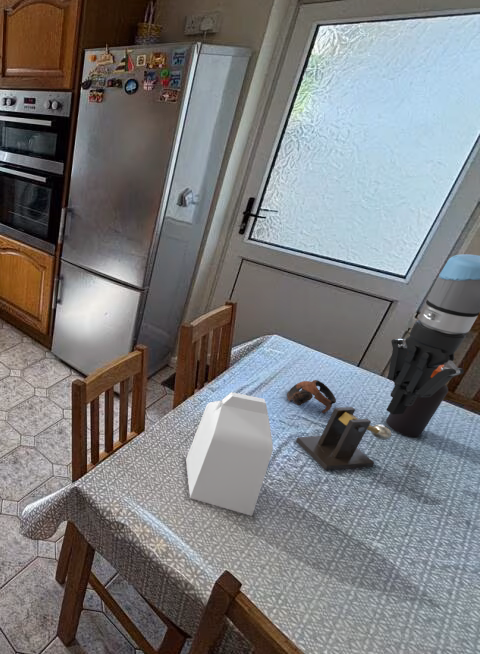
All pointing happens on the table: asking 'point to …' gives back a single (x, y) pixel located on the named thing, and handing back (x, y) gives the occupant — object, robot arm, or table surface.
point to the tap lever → (376, 430)
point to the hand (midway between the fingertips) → (394, 411)
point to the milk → (230, 453)
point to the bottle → (418, 412)
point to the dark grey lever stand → (338, 443)
